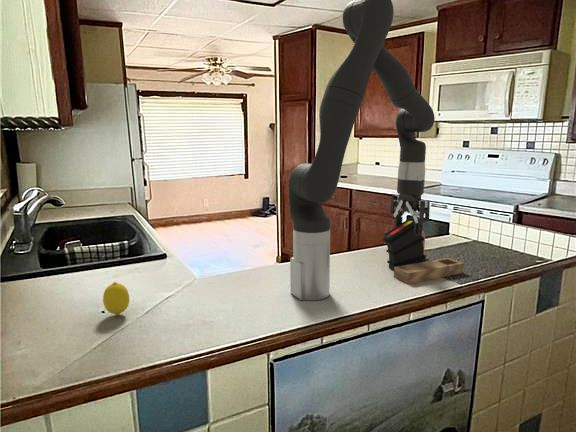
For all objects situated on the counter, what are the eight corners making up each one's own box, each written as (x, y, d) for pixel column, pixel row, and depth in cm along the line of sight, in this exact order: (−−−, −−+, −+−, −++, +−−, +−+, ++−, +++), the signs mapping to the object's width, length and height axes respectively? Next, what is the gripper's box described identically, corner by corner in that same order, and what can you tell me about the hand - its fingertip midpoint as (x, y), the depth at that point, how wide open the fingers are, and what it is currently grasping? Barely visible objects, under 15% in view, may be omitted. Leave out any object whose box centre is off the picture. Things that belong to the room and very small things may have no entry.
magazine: (433, 260, 130) (418, 219, 125) (400, 283, 127) (383, 241, 122) (425, 257, 134) (410, 216, 129) (392, 279, 131) (376, 238, 126)
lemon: (103, 322, 94) (99, 287, 92) (106, 312, 99) (103, 279, 98) (129, 318, 95) (126, 285, 94) (131, 309, 101) (128, 277, 99)
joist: (407, 283, 115) (408, 273, 115) (393, 277, 121) (394, 267, 120) (463, 272, 124) (464, 263, 123) (448, 267, 129) (448, 257, 128)
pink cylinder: (418, 259, 136) (420, 232, 134) (413, 257, 139) (414, 230, 137) (425, 258, 137) (427, 231, 136) (419, 256, 140) (421, 230, 138)
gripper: (385, 175, 127) (382, 228, 130) (418, 180, 114) (414, 238, 117) (405, 175, 130) (401, 226, 133) (439, 179, 117) (434, 236, 120)
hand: (407, 232), depth 125 cm, fingers open, 8 cm apart
